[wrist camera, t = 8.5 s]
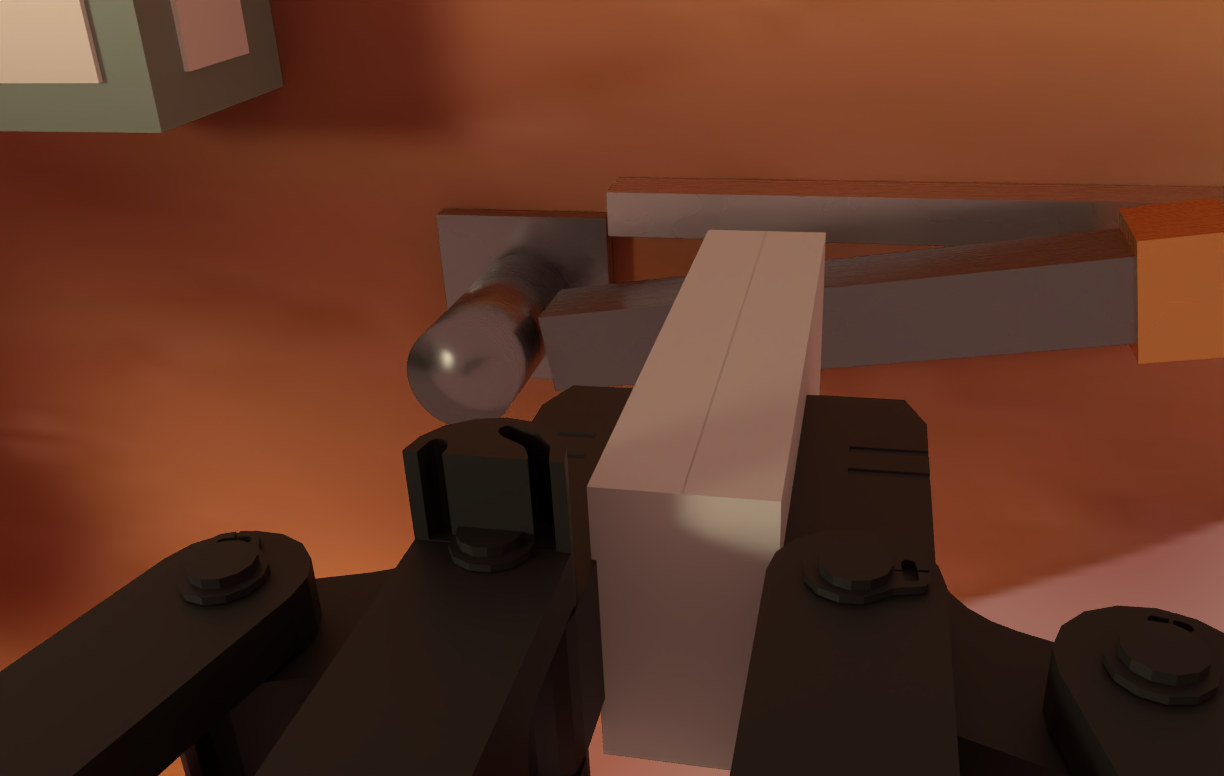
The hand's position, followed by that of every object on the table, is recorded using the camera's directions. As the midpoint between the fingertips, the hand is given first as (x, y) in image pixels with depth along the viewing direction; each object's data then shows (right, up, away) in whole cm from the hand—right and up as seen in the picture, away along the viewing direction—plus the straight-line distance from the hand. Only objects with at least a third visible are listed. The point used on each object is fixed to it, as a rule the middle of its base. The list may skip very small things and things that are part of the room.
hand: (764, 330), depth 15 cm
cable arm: (+4, +2, +13) cm, 13 cm away
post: (-4, +2, +18) cm, 19 cm away
